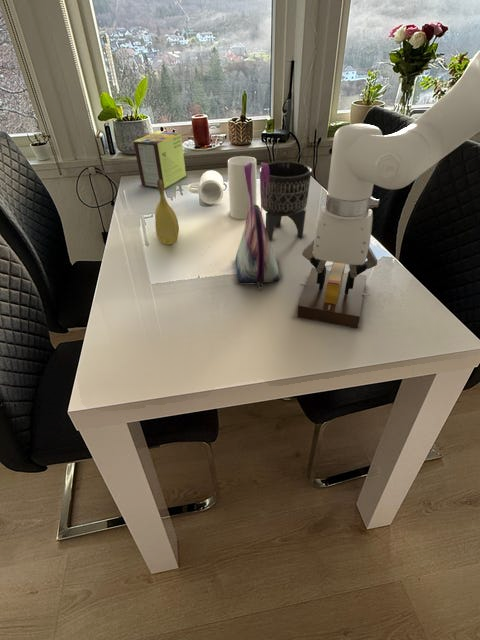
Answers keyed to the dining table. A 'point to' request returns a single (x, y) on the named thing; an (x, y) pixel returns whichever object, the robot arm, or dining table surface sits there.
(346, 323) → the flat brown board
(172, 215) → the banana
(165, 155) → the protein box
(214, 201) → the mug
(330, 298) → the yellow block
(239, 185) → the cup
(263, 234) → the handbag
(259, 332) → the dining table surface
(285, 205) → the planter
